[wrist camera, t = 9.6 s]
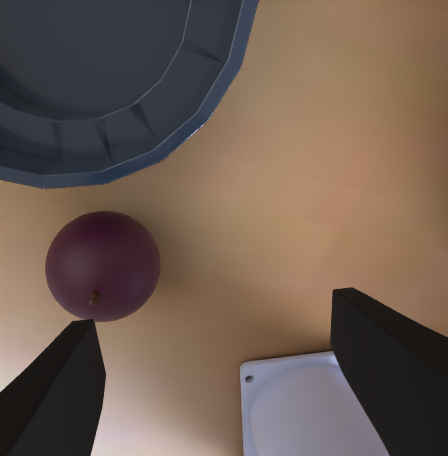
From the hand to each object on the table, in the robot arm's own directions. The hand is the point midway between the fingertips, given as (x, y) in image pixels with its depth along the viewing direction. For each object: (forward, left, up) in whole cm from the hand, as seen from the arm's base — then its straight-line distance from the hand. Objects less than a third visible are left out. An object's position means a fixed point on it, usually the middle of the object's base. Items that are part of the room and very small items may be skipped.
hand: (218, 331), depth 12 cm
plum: (0, +4, -9) cm, 10 cm away
